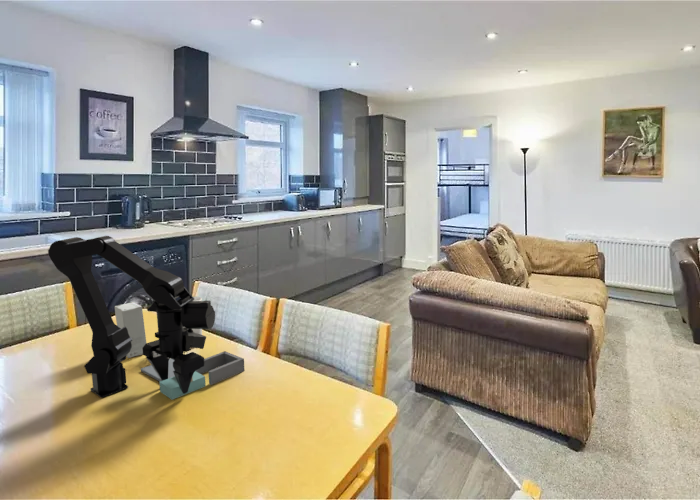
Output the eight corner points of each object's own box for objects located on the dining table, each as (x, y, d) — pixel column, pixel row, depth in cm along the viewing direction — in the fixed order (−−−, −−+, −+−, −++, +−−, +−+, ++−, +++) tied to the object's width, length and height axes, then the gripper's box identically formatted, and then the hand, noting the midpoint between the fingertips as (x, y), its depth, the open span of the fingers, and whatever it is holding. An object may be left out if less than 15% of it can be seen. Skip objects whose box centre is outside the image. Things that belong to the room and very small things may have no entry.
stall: (211, 385, 110) (210, 372, 109) (192, 375, 115) (191, 363, 115) (244, 370, 118) (243, 358, 118) (225, 362, 124) (224, 351, 123)
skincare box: (148, 353, 130) (144, 306, 127) (126, 359, 126) (122, 310, 123) (138, 345, 136) (134, 300, 133) (118, 351, 132) (113, 304, 129)
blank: (171, 401, 103) (170, 383, 102) (160, 393, 107) (158, 376, 106) (205, 387, 110) (204, 370, 109) (193, 380, 113) (192, 364, 113)
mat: (163, 383, 111) (163, 381, 111) (141, 371, 118) (140, 368, 118) (204, 367, 120) (204, 365, 120) (180, 357, 127) (180, 354, 127)
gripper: (221, 326, 105) (224, 386, 107) (180, 312, 116) (183, 366, 119) (180, 340, 96) (184, 404, 99) (139, 323, 107) (144, 381, 110)
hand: (175, 387), depth 107 cm, fingers open, 9 cm apart
